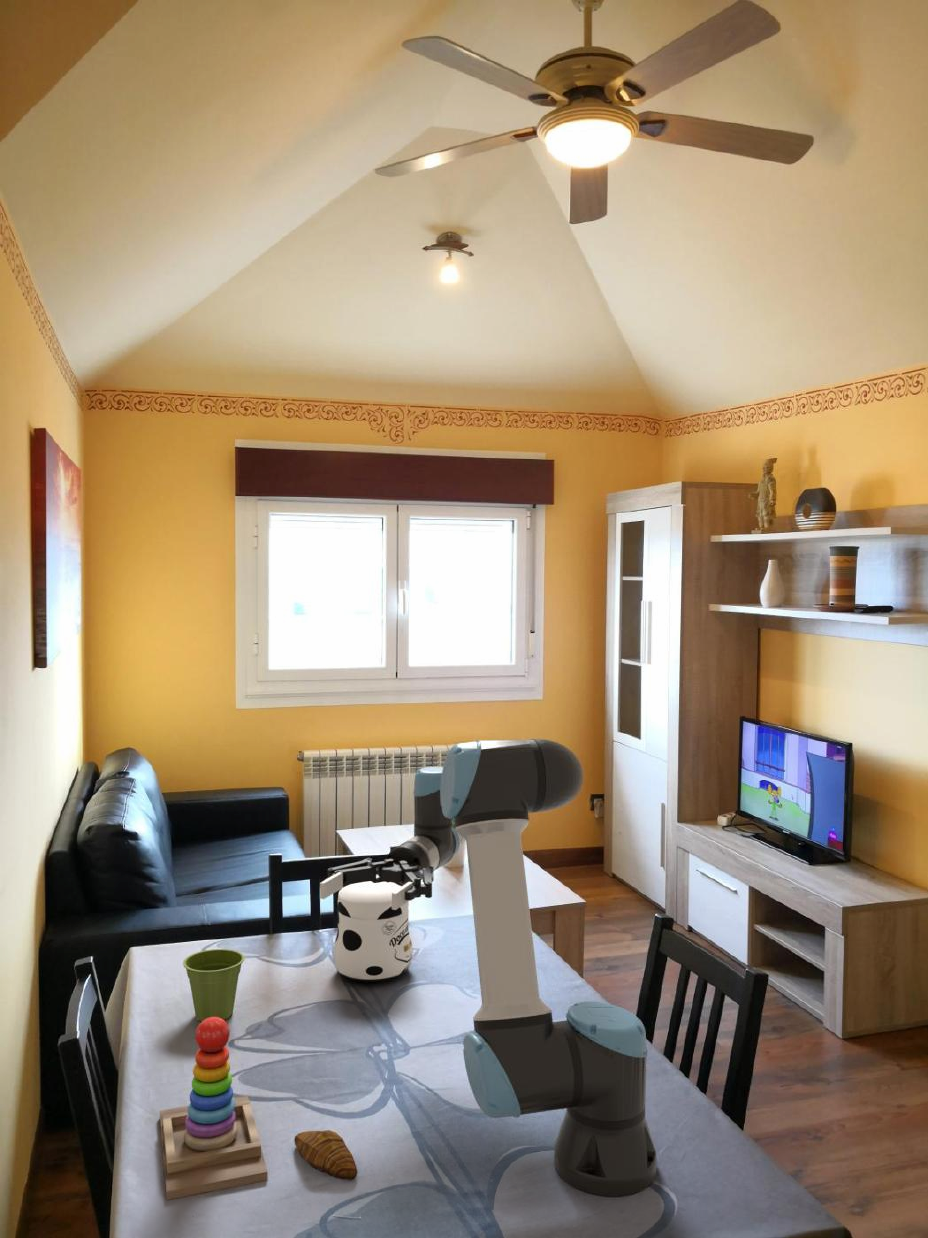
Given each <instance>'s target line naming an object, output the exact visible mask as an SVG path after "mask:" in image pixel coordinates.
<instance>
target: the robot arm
mask: <svg viewBox="0 0 928 1238" xmlns="http://www.w3.org/2000/svg"><path fill="white" fill-rule="evenodd" d="M583 782H584V769H583V767H582V764H581V761H580V760H579V758H578V757H577V755H576V754H575V753H574V751H572V750H571V749H570V748H568V747H567V746H565V745H563V744H561V743H559V742H556V741H553V740H550V739H542V738H531V739H505V740H504V739H501V740H499V739H497V740H479V739H477V740H474V741H468V742H461V743H460V742H459V743H457V744H453V746H451V747H450V749H449V750H448V752H447V754H446V756H445V759H444V761H443V766H424V767H421V768H419V769H418V770H417V771H416V772H415V775H414V786H413V788H414V789H413V792H412V793H413V807H414V808H413V809H414V810H413V811H414V814H413V817H414V822H413V823H414V824H413V837H412V838H410V839H408V840H406V841H404V842H403V843H401V844H400V845H398V846H396V847H394V848H393V849H391V851H390V852H388V853H387V856H386V857H385V859H383V861H378V862H377V861H376V862H373V859H372V857H371V858H370V857H367V858H364V859H363V860H359V861H356V862H352V863H347V864H342V865H338V866H335V867H329V868H328V869H327V878H325V879H324V880H323V881H321V882H319V899H321V900H325V899H327V898H328V897H330V896H331V895H333V894H335V893H337V892H339V891H340V890H341V889H342V888H343V887H344V886H348V885H350V884H355V883H362V882H368V881H371V882H373V883H380V882H387V883H389V882H391V883H395V884H397V885H399V886H402V887H400V888H399V889H397V890H396V891H394V892H393V893H392V909H393V910H397V909H398V908H399V907H401V906H402V905H404V904H405V903H406V902H408V901H413V900H414V899H416V898H418V899H419V898H421V897H422V896H424V897H425V898H427V899H431V898H432V897H433V882H434V880H435V879H434V876H435V875H434V871H436V870H438V869H440V868H441V867H443V866H445V865H446V864H448V863H449V862H450V861H452V859H453V858H454V857H455V856H456V855H457V853H458V851H459V849H460V843H461V842H460V838H459V836H460V837H462V838H463V839H464V840H465V843H466V845H465V846H466V851H467V852H466V853H467V863H468V872H469V875H468V876H469V881H470V882H469V883H470V893H471V895H470V896H471V903H472V915H473V927H474V935H475V936H474V937H475V946H476V954H477V956H476V957H477V967H478V974H479V975H478V976H479V985H480V995H481V996H480V998H481V1006H480V1008H479V1009H478V1010H477V1012H476V1013H475V1014H474V1016H473V1017H472V1018H473V1019H472V1020H473V1030H470V1031H469V1032H467V1033H466V1034H465V1035H464V1037H463V1041H462V1042H463V1044H462V1045H463V1049H462V1050H463V1052H462V1053H463V1060H464V1067H465V1071H466V1076H467V1079H468V1080H467V1081H468V1083H469V1086H470V1089H471V1092H472V1094H473V1097H474V1099H475V1102H476V1104H477V1106H478V1107H479V1109H480V1110H481V1111H482V1112H483V1114H485V1115H486V1116H487V1117H489V1118H492V1119H493V1118H494V1119H495V1118H496V1119H499V1118H508V1117H509V1118H510V1117H514V1118H516V1119H517V1118H519V1117H521V1116H523V1115H531V1114H537V1113H543V1112H551V1111H558V1110H564V1109H565V1110H566V1111H565V1114H564V1116H563V1119H562V1122H561V1125H560V1128H559V1131H558V1134H557V1137H556V1139H555V1142H554V1147H553V1149H554V1151H553V1152H554V1153H553V1154H554V1155H553V1157H554V1159H553V1164H554V1168H555V1170H556V1171H557V1173H558V1175H559V1176H560V1177H561V1178H562V1179H563V1180H564V1181H565V1182H566V1183H567V1184H569V1185H571V1186H572V1187H574V1188H576V1189H578V1190H581V1191H583V1192H586V1193H588V1194H589V1193H590V1194H592V1195H593V1194H594V1195H596V1196H605V1197H621V1196H627V1195H632V1194H635V1193H638V1192H640V1191H643V1190H644V1189H646V1188H647V1187H648V1186H649V1185H651V1184H652V1183H653V1181H654V1180H655V1178H656V1176H657V1165H658V1163H657V1162H658V1160H657V1159H658V1158H657V1157H658V1156H657V1151H656V1148H655V1144H654V1142H653V1138H652V1134H651V1131H650V1128H649V1125H648V1122H647V1119H646V1100H647V1099H646V1098H647V1097H646V1096H647V1095H646V1093H647V1092H646V1091H647V1089H646V1087H647V1057H648V1054H649V1053H648V1048H647V1037H646V1036H647V1035H646V1034H647V1033H646V1028H645V1026H644V1024H643V1022H642V1020H641V1019H639V1017H637V1016H636V1014H634V1013H632V1012H631V1011H629V1010H627V1009H625V1008H623V1007H621V1006H618V1005H614V1004H611V1003H607V1002H602V1001H601V1002H600V1001H579V1002H576V1003H574V1004H573V1005H570V1007H568V1009H567V1012H566V1014H565V1018H566V1020H558V1021H554V1019H553V1012H552V1009H551V1007H550V1006H548V1005H547V1004H546V1003H545V1002H543V1001H542V998H541V997H540V991H539V982H538V981H539V980H538V972H537V971H538V970H537V964H536V955H535V948H534V947H535V946H534V939H533V938H534V937H533V929H532V920H531V912H530V903H529V895H528V885H527V877H526V867H525V860H524V851H523V844H522V833H523V832H524V831H525V830H526V828H527V827H528V826H529V824H530V819H529V818H530V817H529V814H530V813H532V814H533V813H538V812H540V813H541V812H548V811H553V810H557V809H559V808H562V807H564V806H566V805H568V804H570V803H571V802H572V801H574V800H575V799H576V797H577V796H578V795H579V793H580V792H581V790H582V787H583ZM453 821H454V827H453ZM458 834H459V835H458ZM377 875H378V877H377ZM422 883H423V884H422Z"/></svg>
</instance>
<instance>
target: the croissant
mask: <svg viewBox="0 0 928 1238" xmlns="http://www.w3.org/2000/svg"><path fill="white" fill-rule="evenodd" d="M293 1142H294V1145H295V1148H296V1150H297V1152H298V1153H299V1155H300V1157H301V1158H303V1159H304V1161H305V1162H306V1163H307V1164H308V1165H309V1166H310V1167H311V1168H312V1169H314V1170H316V1171H318V1172H321V1173H324V1174H327V1175H328V1176H329V1177H333V1178H335V1179H340V1180H343V1181H353V1180H355V1179H356V1178H357V1176H358V1173H359V1172H358V1168H357V1164H356V1161H355V1159H354V1155H353V1154H352V1153H351V1150H350V1149H349V1148H348V1147H347V1145H346V1143H345V1141H344V1139H343V1137H341V1135H339V1133H337V1132H336V1131H332V1130H330V1129H328V1130H306V1131H302V1132H299V1133H297V1134H296V1135H295V1136H294V1140H293Z"/></svg>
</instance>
